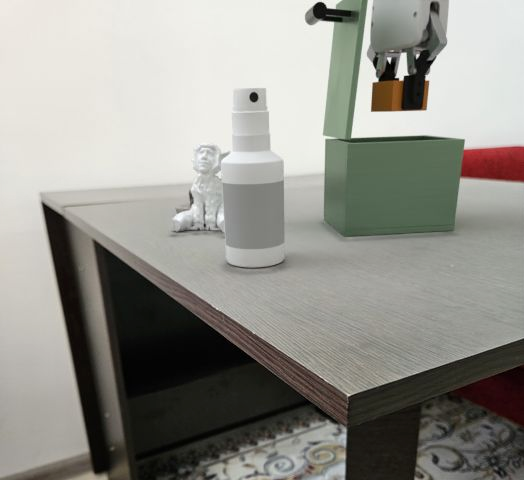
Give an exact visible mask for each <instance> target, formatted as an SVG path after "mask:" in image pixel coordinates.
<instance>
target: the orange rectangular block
mask: <svg viewBox="0 0 524 480" xmlns="http://www.w3.org/2000/svg"><path fill="white" fill-rule="evenodd" d="M371 89H372V90H371V104H370V112H372V113H373V112H374V113H378V112H379V113H380V112H381V113H382V112H383V113H384V112H418V111H419V112H421V111H428V102H429V101H428V100H429V90H430V80H425V89H424V100H423V108H422V109H419V110H402V108H401V106H402V94H403V80H399V81H383V82H378V81H375V82H372V86H371Z"/></svg>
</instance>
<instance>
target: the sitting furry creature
mask: <svg viewBox="0 0 524 480" xmlns="http://www.w3.org/2000/svg"><path fill="white" fill-rule="evenodd" d="M230 153H231V151H230V150H228V151H224V152H222V150H221V148H220V147H219V146H218V145H217V144H214V143H213V142H210V141H207V142H205V141H203V142H200V143H199V144H198V145H196V147H193V157H192V158H191V162H192V165H193V170H195V172H196V173H197V175H196V177H194V178H193V183H192V185H191V188H190V189H191V194H192V196H193V198H194V203H193V204H192V205H191V209H190V210H189V211H188V210H187V211H184V212H181V213H179V214H177V213H176V214H175V215H174V217H172V218H171V219H170V220H169V227H170V229H171V230H172V231H173V232H176V233H179V232H184V231H198V230H199V231H203V230H206V231H221V232H222V233H223V234H225V228H224V211H223V194H222V182H221V180H220V179H221V178H220V177H219V176H218V175H217V174H218V173H219V172H221V161H222V160H223V159H224V158H225V157H226V156H228V155H229V154H230Z"/></svg>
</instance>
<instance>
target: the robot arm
mask: <svg viewBox="0 0 524 480" xmlns="http://www.w3.org/2000/svg"><path fill="white" fill-rule="evenodd" d="M449 6H450V0H372V6H371V15H370V16H371V17H370V33H369V34H370V35H369V36H370V37H369V38H370V39H369V41H370V43H369V45H368V48H367V51H366V57H367V58H368V59H369V61H370V62H371V63H372V66H373V68H374V70H375V77H376V79H377V82H383V81H400V77H397V76H398V75H397V73H398V70H399V65H400V59H401V55H402V54H406V69H407V70H406V71H407V75H403V79H402V81H403V94H402V106H401V108H402V110H419V109H422V108H423V100H424V89H425V81H426V80H427V79H426V78H427V76H428V75H429V74H431V66H433V63H434V62H435V60H436V59H437V57H438V55H439V54H440V53H442V51H443V50H444V49H445V48H446V47H447V45H448V38H447V32H448V22H449ZM417 55H418V56H417ZM388 58H390V61H389V60H388Z"/></svg>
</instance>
